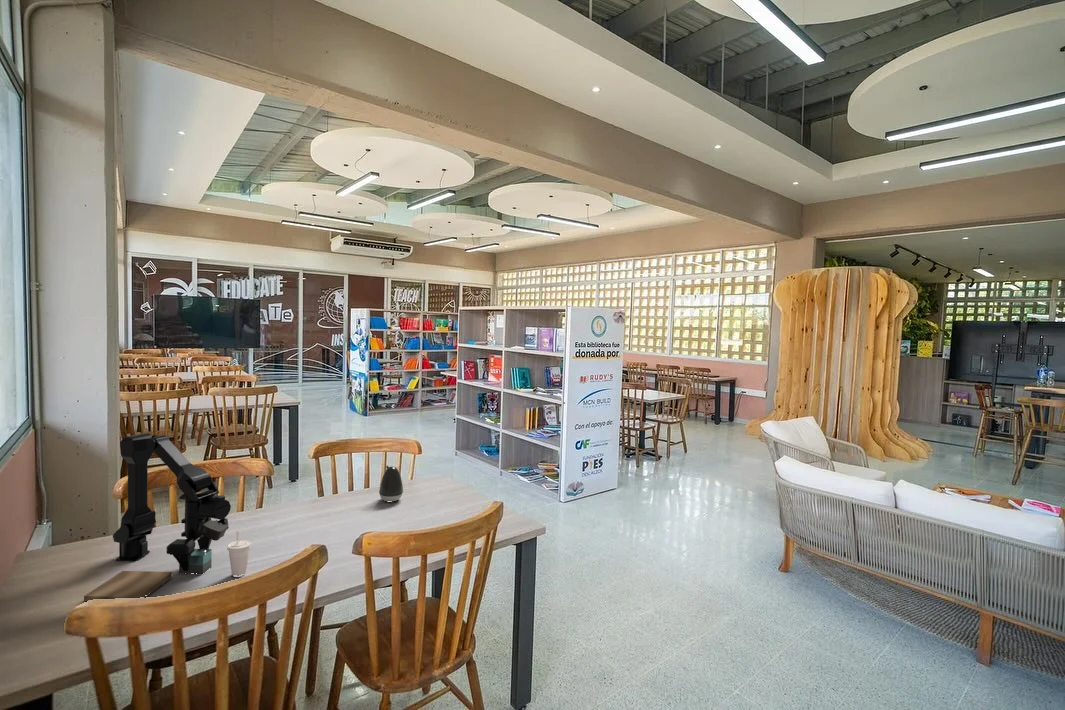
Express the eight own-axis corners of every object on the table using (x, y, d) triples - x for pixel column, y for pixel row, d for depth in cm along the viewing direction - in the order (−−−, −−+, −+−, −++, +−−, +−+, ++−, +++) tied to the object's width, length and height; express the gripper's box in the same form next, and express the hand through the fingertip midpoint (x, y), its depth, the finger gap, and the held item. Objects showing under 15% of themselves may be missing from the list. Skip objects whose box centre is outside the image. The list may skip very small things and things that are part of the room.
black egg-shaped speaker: (396, 494, 234) (397, 462, 233) (406, 501, 226) (408, 467, 225) (374, 499, 227) (375, 465, 226) (384, 506, 219) (385, 471, 218)
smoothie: (224, 574, 157) (224, 529, 156) (247, 567, 161) (248, 524, 161) (230, 582, 152) (230, 536, 152) (253, 575, 157) (254, 531, 156)
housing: (179, 574, 156) (179, 553, 155) (188, 567, 160) (188, 547, 160) (203, 574, 156) (203, 554, 156) (211, 567, 161) (211, 547, 160)
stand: (83, 603, 138) (83, 596, 138) (122, 577, 152) (122, 570, 152) (138, 604, 139) (138, 597, 139) (171, 578, 153) (171, 571, 153)
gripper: (205, 527, 148) (204, 579, 149) (238, 504, 167) (238, 550, 168) (165, 525, 148) (165, 578, 149) (203, 502, 166) (202, 549, 167)
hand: (195, 563), depth 158 cm, fingers open, 9 cm apart
